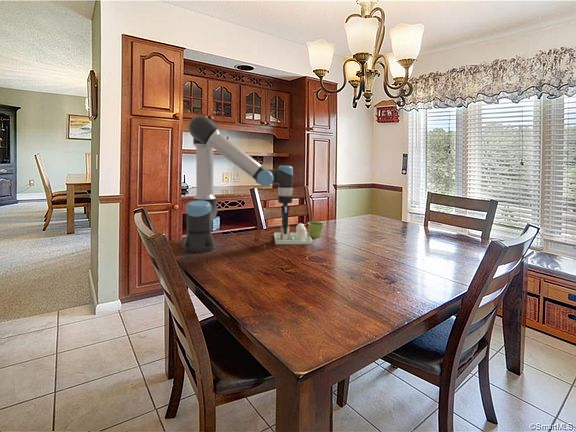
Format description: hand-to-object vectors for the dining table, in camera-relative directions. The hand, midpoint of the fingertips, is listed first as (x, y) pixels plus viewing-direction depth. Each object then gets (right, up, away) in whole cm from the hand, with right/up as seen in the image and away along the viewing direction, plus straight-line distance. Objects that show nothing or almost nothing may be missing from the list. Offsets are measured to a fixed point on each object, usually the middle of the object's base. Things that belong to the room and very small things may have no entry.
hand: (284, 238), depth 185 cm
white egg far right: (+10, -2, +1) cm, 10 cm away
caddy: (+4, -2, +6) cm, 7 cm away
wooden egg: (0, 0, 0) cm, 0 cm away
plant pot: (+18, -1, +14) cm, 23 cm away
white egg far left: (+9, 0, +10) cm, 14 cm away
